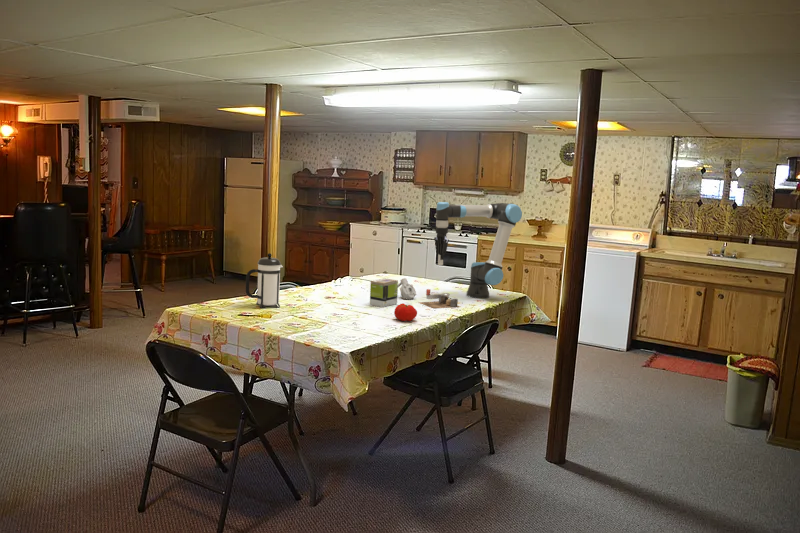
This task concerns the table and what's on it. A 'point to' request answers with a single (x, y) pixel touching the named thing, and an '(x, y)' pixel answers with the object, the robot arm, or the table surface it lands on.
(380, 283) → the tea box
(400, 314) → the tomato
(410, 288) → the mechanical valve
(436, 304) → the board
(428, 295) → the lever
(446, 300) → the walnut
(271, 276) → the coffee press
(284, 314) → the table surface
